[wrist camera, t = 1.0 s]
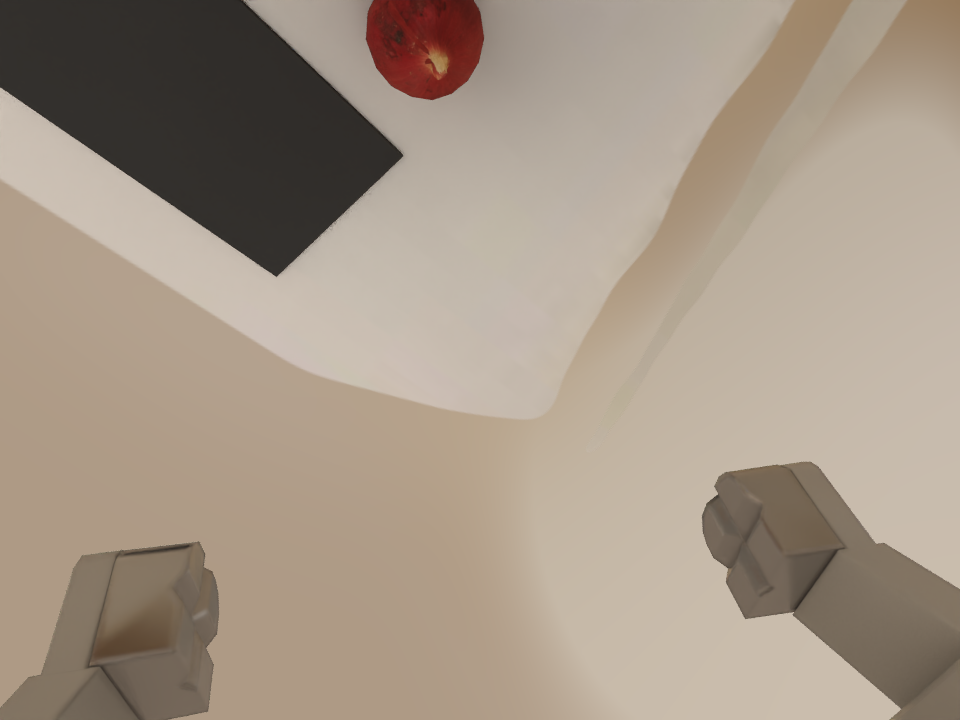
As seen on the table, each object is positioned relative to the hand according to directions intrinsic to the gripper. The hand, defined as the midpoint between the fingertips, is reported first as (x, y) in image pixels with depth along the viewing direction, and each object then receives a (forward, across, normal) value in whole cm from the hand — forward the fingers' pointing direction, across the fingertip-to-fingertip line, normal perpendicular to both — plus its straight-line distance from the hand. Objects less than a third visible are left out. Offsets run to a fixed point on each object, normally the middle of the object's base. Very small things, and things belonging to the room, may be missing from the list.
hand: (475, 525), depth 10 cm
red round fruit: (+33, -3, +1) cm, 33 cm away
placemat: (+33, +10, +5) cm, 35 cm away
